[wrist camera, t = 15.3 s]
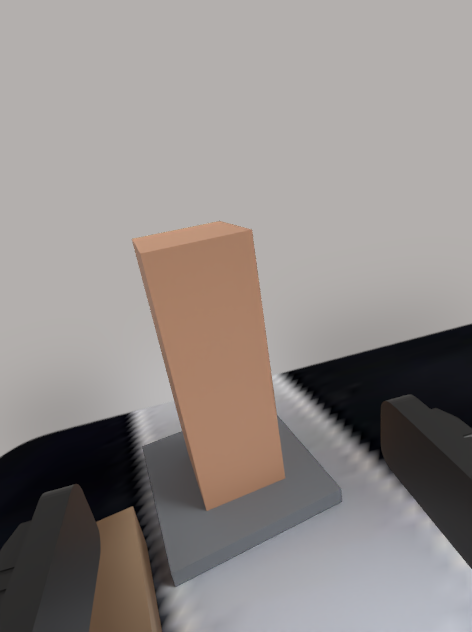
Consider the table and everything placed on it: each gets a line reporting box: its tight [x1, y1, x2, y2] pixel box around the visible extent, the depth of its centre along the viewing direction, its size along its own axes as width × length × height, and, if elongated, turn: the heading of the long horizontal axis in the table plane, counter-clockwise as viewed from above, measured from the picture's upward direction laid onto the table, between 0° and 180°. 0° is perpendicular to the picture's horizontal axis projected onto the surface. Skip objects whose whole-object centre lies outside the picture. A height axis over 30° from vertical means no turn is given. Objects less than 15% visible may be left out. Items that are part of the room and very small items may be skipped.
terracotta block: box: [132, 221, 285, 511], centre depth 20 cm, size 5×5×15 cm
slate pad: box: [142, 416, 342, 586], centre depth 23 cm, size 10×10×1 cm
